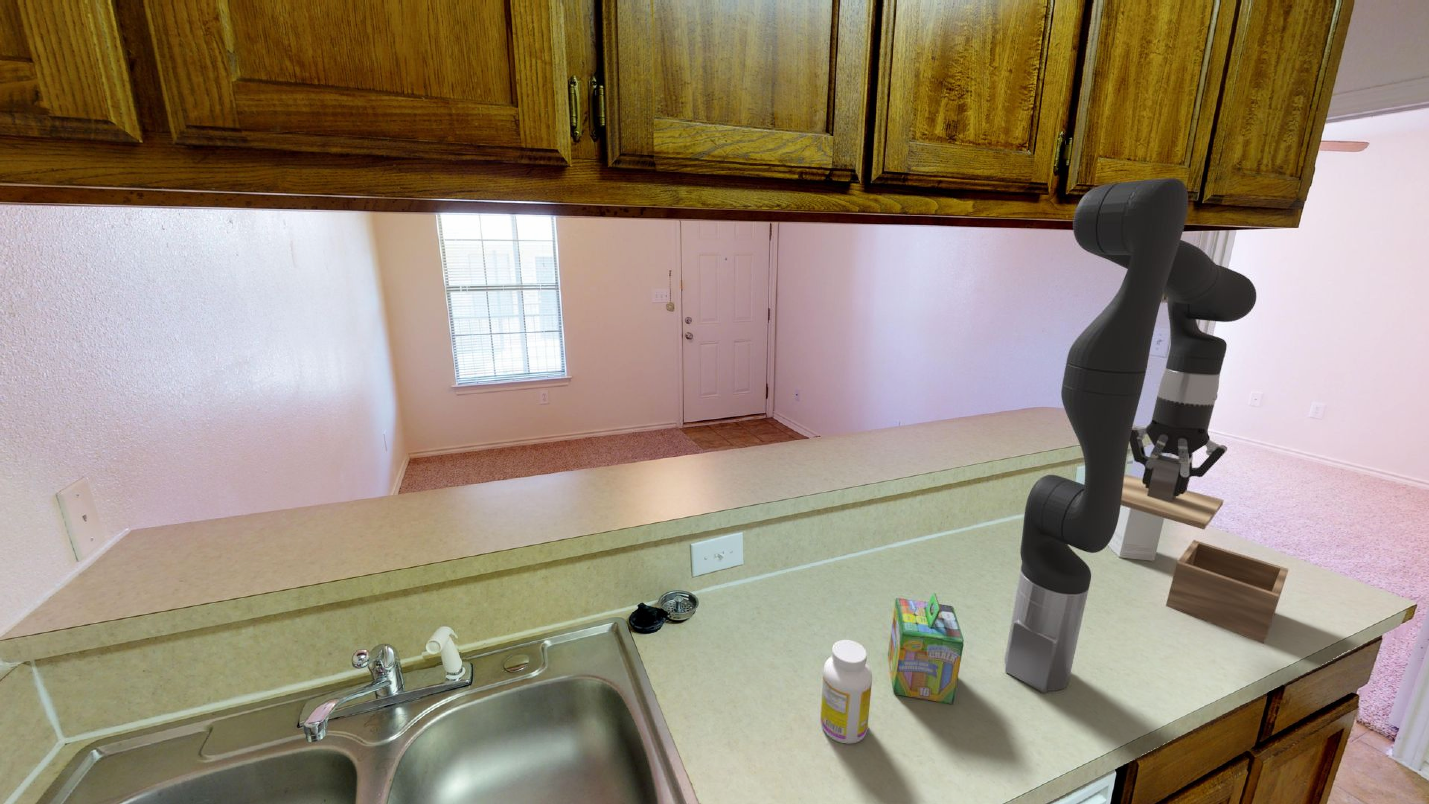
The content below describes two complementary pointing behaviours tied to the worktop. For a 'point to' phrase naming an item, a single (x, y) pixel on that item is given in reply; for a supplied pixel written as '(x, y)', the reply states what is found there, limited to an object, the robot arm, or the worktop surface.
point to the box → (1227, 589)
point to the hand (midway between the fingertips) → (1162, 490)
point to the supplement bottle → (846, 693)
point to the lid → (1169, 496)
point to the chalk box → (925, 650)
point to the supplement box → (1136, 534)
